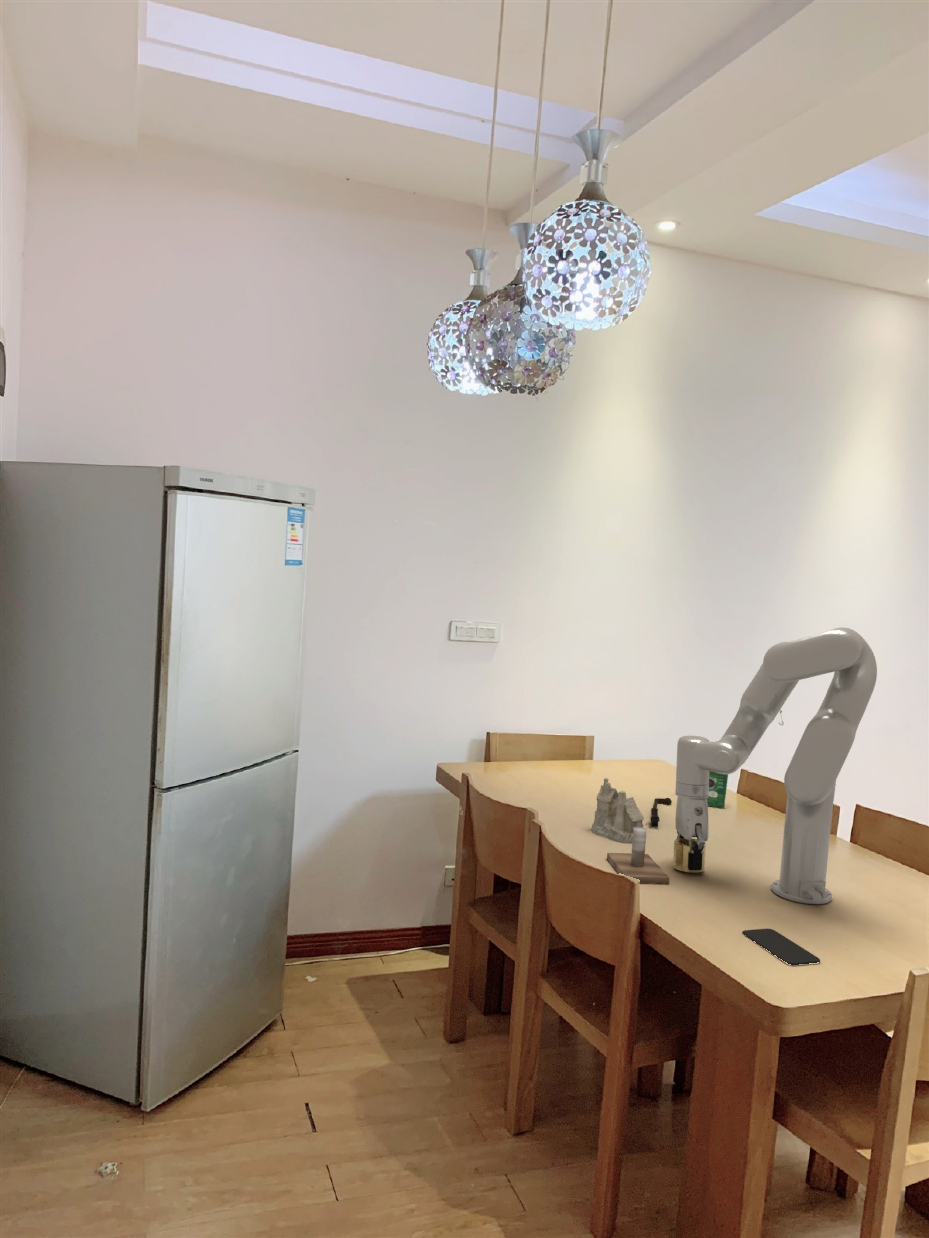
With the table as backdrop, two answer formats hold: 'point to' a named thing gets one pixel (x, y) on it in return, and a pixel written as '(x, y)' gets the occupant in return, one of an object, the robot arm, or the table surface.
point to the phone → (781, 946)
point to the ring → (684, 855)
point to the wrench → (654, 810)
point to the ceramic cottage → (616, 815)
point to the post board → (638, 861)
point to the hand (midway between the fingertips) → (688, 863)
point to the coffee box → (717, 789)
